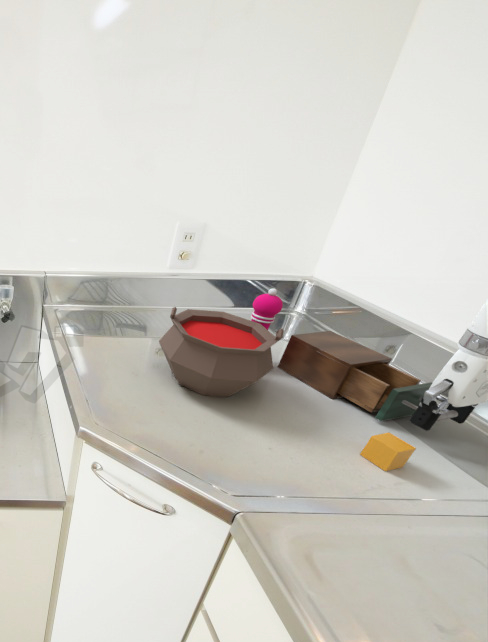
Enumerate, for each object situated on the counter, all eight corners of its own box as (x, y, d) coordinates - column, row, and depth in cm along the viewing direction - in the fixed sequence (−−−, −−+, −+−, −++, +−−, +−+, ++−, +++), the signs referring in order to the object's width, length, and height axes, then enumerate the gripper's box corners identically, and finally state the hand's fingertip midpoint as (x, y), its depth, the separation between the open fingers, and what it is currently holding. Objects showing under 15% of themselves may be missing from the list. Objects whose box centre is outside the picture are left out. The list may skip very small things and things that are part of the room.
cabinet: (372, 392, 98) (392, 358, 94) (332, 399, 95) (351, 364, 91) (314, 361, 110) (330, 330, 106) (277, 367, 107) (291, 334, 103)
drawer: (453, 432, 85) (475, 402, 81) (414, 440, 82) (435, 410, 78) (355, 380, 101) (370, 354, 97) (319, 386, 98) (333, 358, 94)
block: (376, 450, 80) (389, 432, 78) (402, 467, 76) (416, 448, 74) (359, 454, 79) (371, 435, 77) (385, 471, 75) (398, 452, 73)
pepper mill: (233, 367, 106) (262, 291, 96) (226, 354, 112) (252, 281, 102) (264, 371, 105) (297, 295, 95) (255, 358, 111) (285, 285, 101)
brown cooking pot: (259, 371, 105) (284, 310, 97) (264, 423, 86) (297, 353, 78) (158, 347, 114) (174, 289, 106) (143, 389, 95) (161, 323, 87)
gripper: (485, 360, 69) (427, 441, 77) (550, 350, 73) (488, 428, 82) (432, 340, 75) (384, 417, 84) (495, 332, 80) (442, 405, 88)
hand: (435, 422), depth 83 cm, fingers open, 9 cm apart
